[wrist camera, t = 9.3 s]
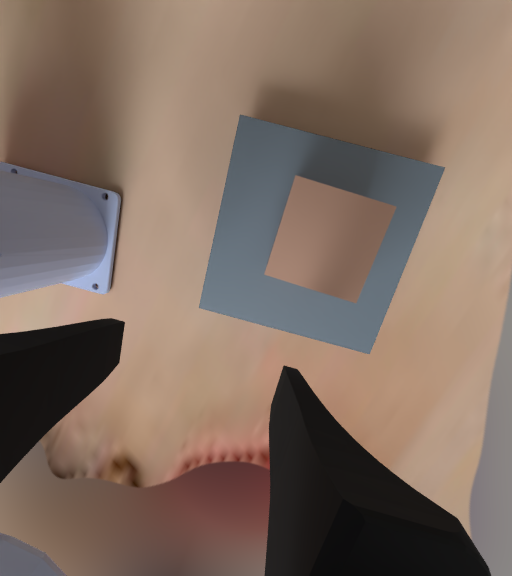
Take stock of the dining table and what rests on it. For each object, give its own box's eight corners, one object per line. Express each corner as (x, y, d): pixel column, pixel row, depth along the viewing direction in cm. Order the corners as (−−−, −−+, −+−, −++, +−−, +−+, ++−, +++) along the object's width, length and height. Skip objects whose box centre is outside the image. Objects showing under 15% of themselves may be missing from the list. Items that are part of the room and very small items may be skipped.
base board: (210, 296, 20) (198, 307, 17) (246, 134, 17) (240, 114, 14) (355, 336, 20) (369, 354, 17) (416, 178, 17) (445, 167, 14)
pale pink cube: (267, 262, 16) (264, 274, 12) (289, 191, 15) (295, 175, 11) (334, 283, 16) (356, 303, 12) (361, 213, 15) (396, 206, 11)
